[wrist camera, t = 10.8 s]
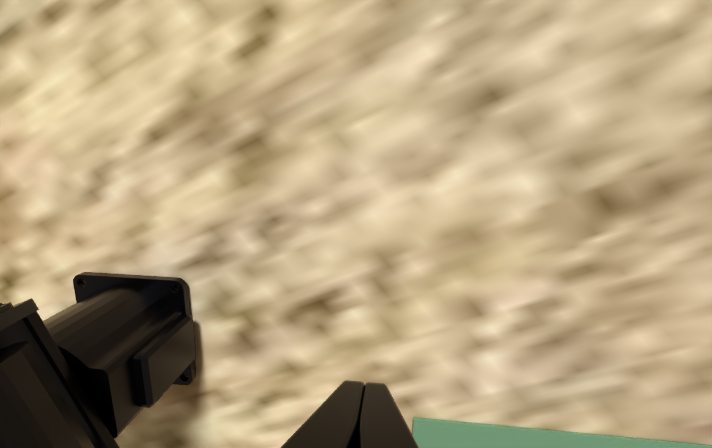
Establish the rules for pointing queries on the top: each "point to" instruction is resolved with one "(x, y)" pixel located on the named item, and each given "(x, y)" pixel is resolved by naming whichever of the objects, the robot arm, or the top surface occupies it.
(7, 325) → the robot arm
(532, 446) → the green mat
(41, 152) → the top surface
